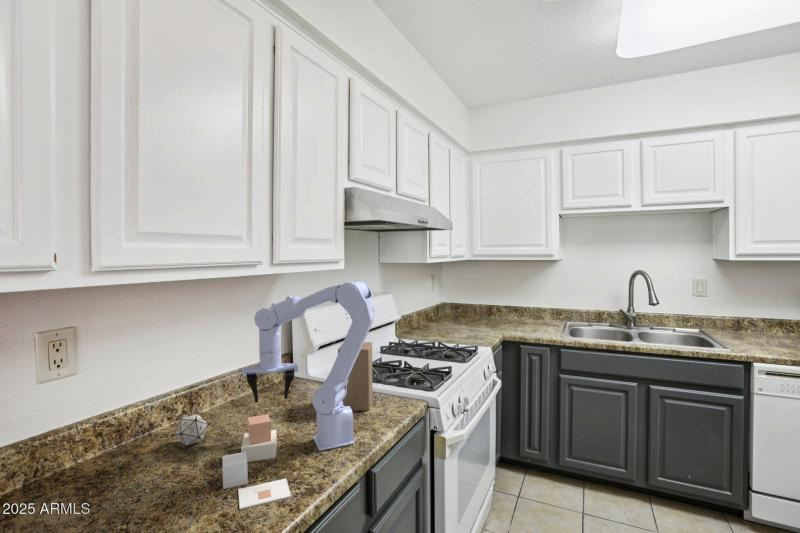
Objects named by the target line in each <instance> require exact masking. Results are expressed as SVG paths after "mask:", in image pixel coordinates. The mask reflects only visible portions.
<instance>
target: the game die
mask: <svg viewBox="0 0 800 533" xmlns="http://www.w3.org/2000/svg"><path fill="white" fill-rule="evenodd" d="M199 413H200V410H198V411H196V414H192V415H189V416H185V417H181V416H178V417H177V418H178V420H179V422H178V425H177V427H176V429H175V433H174V434H172V435H171V437H172V438H173V437H176V438H177V440H178V441H180V442H181V444H183V445H184V447H183V450H184V451H185V450H186V449H187V446H191V445H193V444H197V443H200V442H202V443H205V442H206V441H205V440H204V439H205V438H204V437H205V435H206V433H207V431H208V430H207V429H208V426H210V425H212V422H207V421H206V420H205V419H204V418H203V417H202V416H201V415H200V414H199Z"/></svg>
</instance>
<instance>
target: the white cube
mask: <svg viewBox="0 0 800 533" xmlns="http://www.w3.org/2000/svg"><path fill="white" fill-rule="evenodd" d="M248 473H249V472H248V462H247V455H246V452H237V453H233V454H226V455H222V489H223V490H224V489H230V488H235V487H239V486H244V485H247V484H249V481H248V479H249V478H248V475H249V474H248Z"/></svg>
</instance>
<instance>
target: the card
mask: <svg viewBox="0 0 800 533" xmlns="http://www.w3.org/2000/svg"><path fill="white" fill-rule="evenodd" d="M289 498H292V494H291V490H290V486H289V484H288V480H287V478H282V479H278V480H277V479H276V480H273V481H269V482H264V483H261V484H260V483H259V484H256V485H250V486H247V487H242V488H238V504H239V510H244V509H247V508H252V507H256V506H260V505H264V504H267V503H272V502H277V501H281V500H285V499H289Z"/></svg>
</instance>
